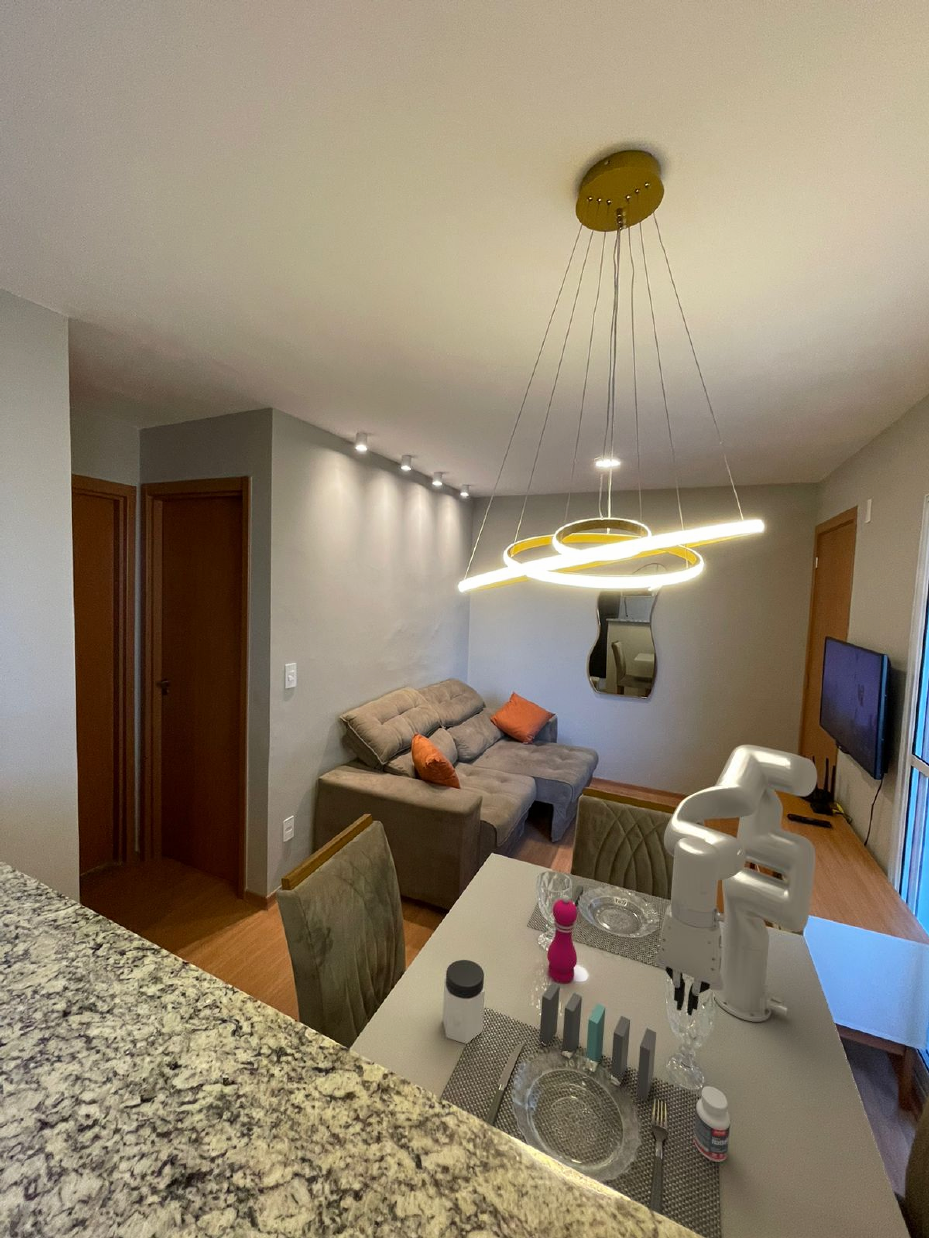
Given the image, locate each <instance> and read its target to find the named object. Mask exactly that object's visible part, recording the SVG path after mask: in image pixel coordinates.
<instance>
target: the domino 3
mask: <svg viewBox="0 0 929 1238" xmlns="http://www.w3.org/2000/svg"><path fill="white" fill-rule="evenodd" d="M605 1018H606V1007H605V1006H603V1005H601V1004H599V1003H596V1004H595V1006H594V1007H593V1010H592V1012H591V1013H590V1016H589V1018H588V1022H587V1036H586V1037H587V1038H586V1052H585V1058H586V1057H587V1058H589V1059H590V1060H592V1061H596V1062H600V1061H601V1059H602V1056H603V1049H604V1036H605V1035H604V1033H605V1022H606V1021H605Z"/></svg>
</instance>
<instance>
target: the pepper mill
mask: <svg viewBox="0 0 929 1238" xmlns="http://www.w3.org/2000/svg"><path fill="white" fill-rule="evenodd" d="M552 916H553V918H554V919H553V926H554V929H555V934H554V937H553V938H552V941H551V942H550V944H549V947H548V949H547V954H546V956H547V957H546V958H547V961H548V968H547V969H548V971H547V972H548V976H549V977H550V978H551V980H554V981H555V982H557V983H561V984H568V983H570V982H572V981H573V980H574V978H575V967H576V965H577V963H578V957H577V951H576V949H575V945H574V943H573V939H572V937H573V936H572V934H573V931H574V930H575V922H576V920H577V918H578V909H577V907H576V905H575V903H574V902H572V901H571V900H570V897H569V896H568V895H567V894H564V895H563V896H562V898H561V899H559V900H557V901H555V903H554V905H553V906H552Z"/></svg>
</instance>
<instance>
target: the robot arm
mask: <svg viewBox="0 0 929 1238" xmlns="http://www.w3.org/2000/svg"><path fill="white" fill-rule="evenodd" d="M817 781H818V772H817V768H816V765H815V763H814V762H813V760H811V759H809V758H806V757H804V756H801V755H799V754H796V753H791V752H786V751H783V750H779V749H778V750H777V749H773V748H769V747H765V746H760V745H754V744H741V745H739V746H737V747H735V748H734V749H733V750H732V752H731V753H730V755H729V757H728V758H727V761H726V763H725V765H724V768H723V769H722V772H721V773H720V775H719V777H718V779H717V781H716V784H715V785H713V786H710V787H707V788H704V789H701V790H699V791H697V792H695V793H693V794H691V795H690V794H689V796H687V797H685V798H683V800H682V801H680V803H679V804H678V805H677V806H676V808H675V810H674V812H673V814H672V815H671V817H670V819H669V820H668V824H667V825H666V827H665V830H664V835H663V844H664V848H665V850H666V852H667V853H668V854H669V855H671V856H672V857H673V867H672V878H671V892H670V893H671V896H670V904H669V905H667V907H666V909H665V913H664V917H663V923H662V925H661V926H662V927H661V931H660V939H659V940H660V941H659V946H658V953H657V955H656V956H655V959H654V963H655V964H656V965H657V966H658V967H660V968H661V969H662V970H664V971H665V972H666V974H667V975H668V977H669V978H670V979H671V981H672V985H673V986H674V992H673V993H674V995H673V1001H675V1002H676V1010H677V1011H679V1012H680V1011H682V1009H683V1005H684V1002H685V992H686V991H685V990H686V981H685V979H684V978H683V976H684V975H686V976H688V977H690V978H693V982H692V983H691V985H690V987H689V992H688V997H687V1009H686V1010H687V1011H686V1013H687V1015H688V1016H690V1017H692V1015H693V1011H697V1010H698V1007H699V997H700V994H701V993H703V992H706V991H708V990H710V991H711V990H714V994H715V999H714V1001H715V1002H716V1003H717V1004H718V1005H719V1006H720V1008H722V1009H723V1010H724V1011H726V1012H727V1013H729V1014H731V1015H732V1016H734V1017H736V1018H738V1019H742V1020H744V1021H748V1022H755V1023H756V1022H760V1023H761V1022H764V1021H767V1020H769V1018H770V1017H771V1015H772V1011H774V1012H776V1013H778V1014H780V1015H782V1016H785V1017H788V1016H787V1015H788V1006H787V1005H784V1004H782V998H781V997H779V996H774V995H772V994H770V992H769V991H767V990H768V985H767V984H766V983H767V982H766V981H767V971H768V957H769V946H770V945H769V944H770V934H769V931H768V928H767V925H766V922H769V923H771V924H773V925H776V926H778V927H780V928H783V929H785V930H788V931H791V932H796V933H797V932H802V931H803V930H804V929H805V928H806V927H807V924H808V922H809V921H808V920H809V917H810V910H811V903H812V902H811V901H812V894H813V887H814V886H813V885H814V877H815V870H816V850H815V846H814V845H813V843H812V841H811V840H809V839H808V838H807V837H804V836H802V835H800V834H798V833H794V832H791V831H787V830H784V829H782V820H783V819H782V817H783V810H784V808H783V803H782V801H781V800H780V797H779V796H778V794H777V792H782V793H785V794H788V795H793V796H797V797H807V796H809V795H810V794H812V792H813V791H814V790H815V788H816V786H817ZM776 791H777V792H776ZM734 818H735V819H736V818H739V820H738V821H739V823H738V829H737V834H736V837H734V836H733V835H730V834H728V833H724V832H721V831H719V830H715V829H712V828H710V827H707V826H704V825H701V824H697V823H699V822H701V821H705V820H710V819H711V820H712V819H734ZM746 861H747V862H749V863H752V864H754V865H757V866H759V867H762V868H764V869H768V870H770V871H772V872H775V873H779V874H781V875H783V876H785V877H786V878H787V881H784V880H782V879H779V878H777V877H774V876H771V875H770V874H766V873H763V872H761V871H758V870H755V869H753V868H749V867H746V866H745V865H746V863H747V862H746ZM720 881H721V889H722V898H723V913H722V912H721V911H719V909H718V905H717V902H718V901H717V900H718V890H719V888H718V887H719V882H720ZM765 921H766V922H765ZM720 922H721V923H722V925H723V927H722V930H721V924H720Z"/></svg>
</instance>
